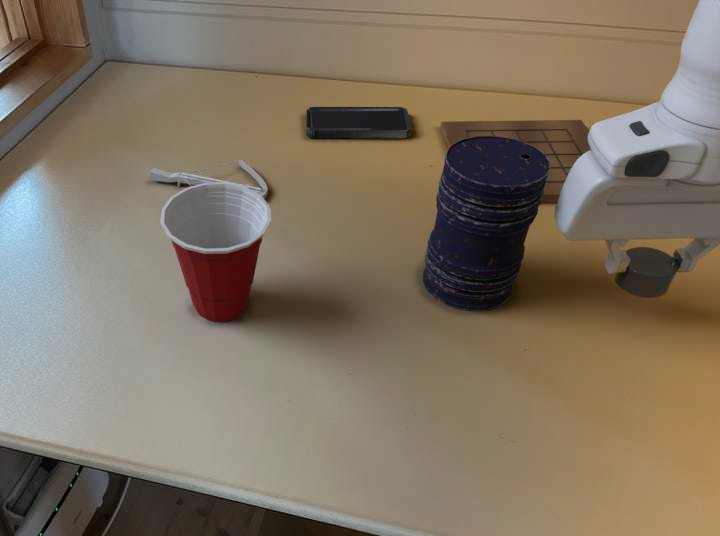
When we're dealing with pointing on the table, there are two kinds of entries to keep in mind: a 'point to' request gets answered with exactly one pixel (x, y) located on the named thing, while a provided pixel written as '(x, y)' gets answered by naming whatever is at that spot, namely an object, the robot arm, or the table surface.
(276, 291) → the table surface
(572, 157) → the board
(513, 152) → the dark blue cylinder
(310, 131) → the phone
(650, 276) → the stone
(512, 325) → the table surface
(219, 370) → the table surface
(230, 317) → the plastic cup
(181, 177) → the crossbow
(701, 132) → the robot arm
